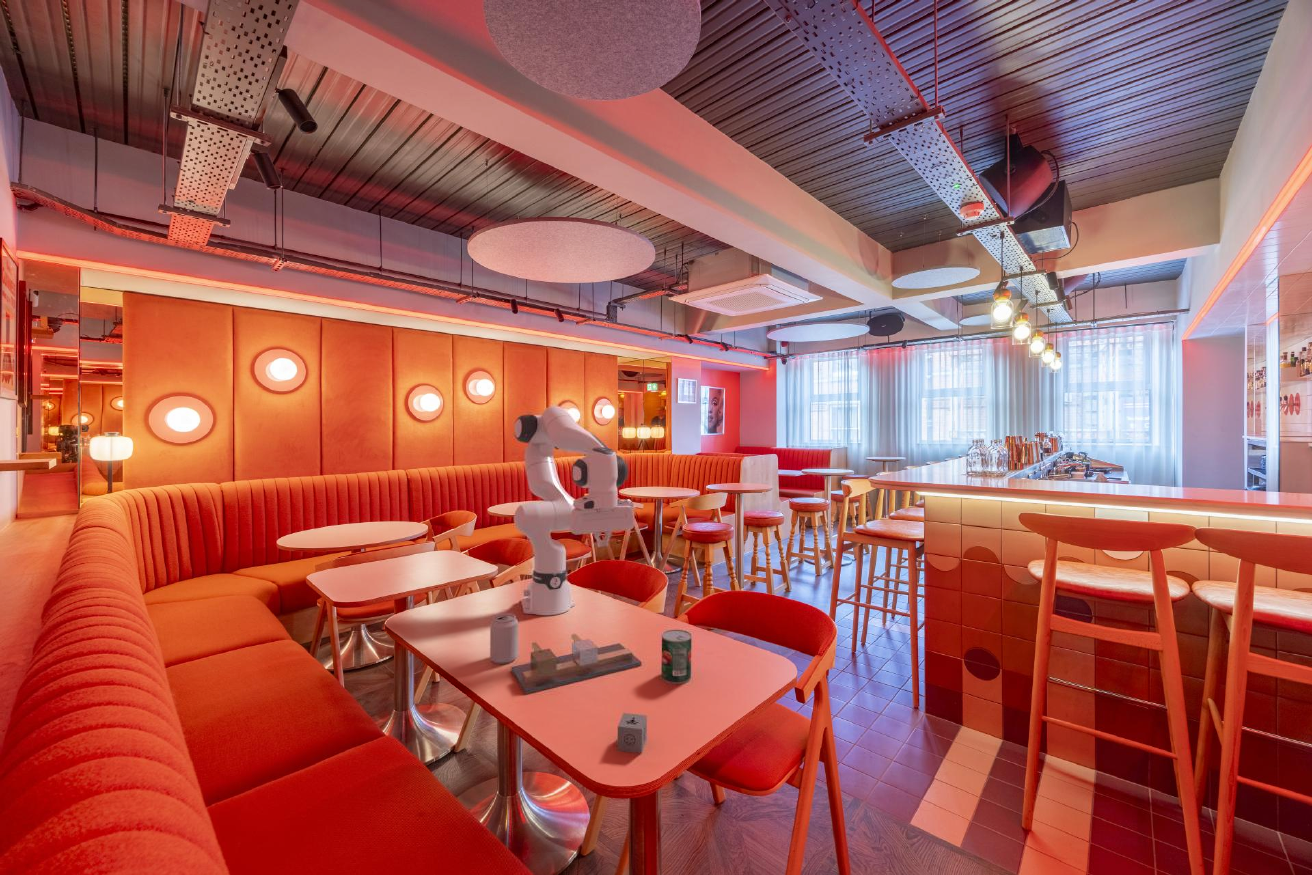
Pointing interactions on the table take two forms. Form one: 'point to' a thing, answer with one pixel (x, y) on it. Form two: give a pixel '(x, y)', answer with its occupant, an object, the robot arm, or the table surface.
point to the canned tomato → (676, 656)
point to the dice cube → (632, 733)
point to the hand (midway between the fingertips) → (602, 546)
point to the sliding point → (584, 651)
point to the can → (503, 638)
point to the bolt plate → (574, 674)
